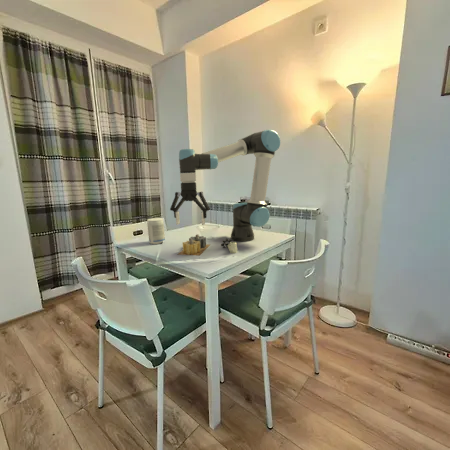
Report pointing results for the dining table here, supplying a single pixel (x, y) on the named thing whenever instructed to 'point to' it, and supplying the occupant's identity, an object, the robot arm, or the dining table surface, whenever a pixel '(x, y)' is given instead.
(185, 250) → the brass gear
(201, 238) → the gear
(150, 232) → the supplement tub
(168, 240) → the dining table surface
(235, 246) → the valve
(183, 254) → the gear board
